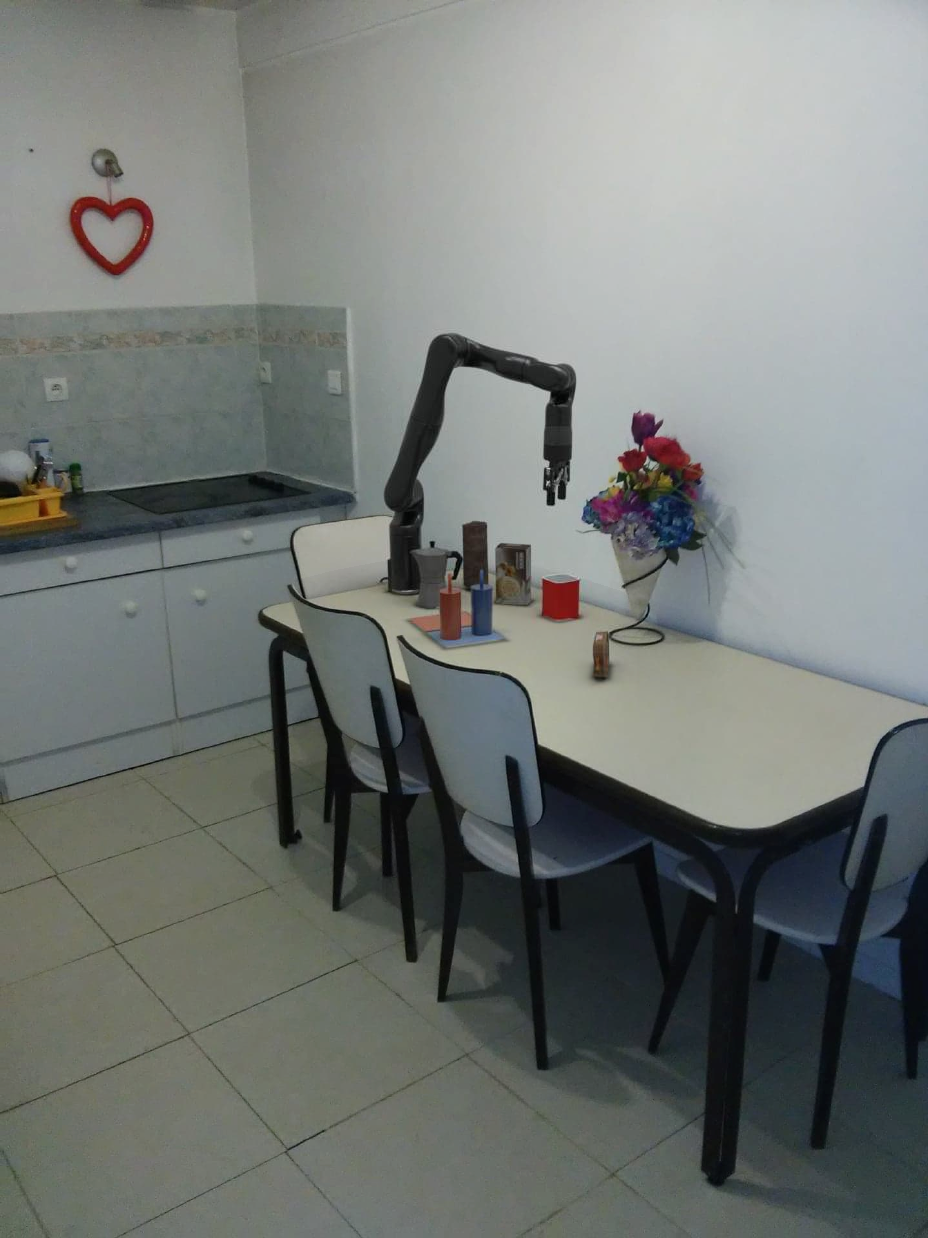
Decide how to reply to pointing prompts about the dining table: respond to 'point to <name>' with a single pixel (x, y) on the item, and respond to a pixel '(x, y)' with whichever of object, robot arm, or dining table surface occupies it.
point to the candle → (475, 553)
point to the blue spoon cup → (481, 608)
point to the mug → (560, 596)
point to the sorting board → (433, 628)
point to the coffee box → (513, 573)
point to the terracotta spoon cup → (450, 612)
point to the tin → (601, 654)
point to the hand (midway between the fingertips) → (556, 502)
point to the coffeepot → (434, 572)
